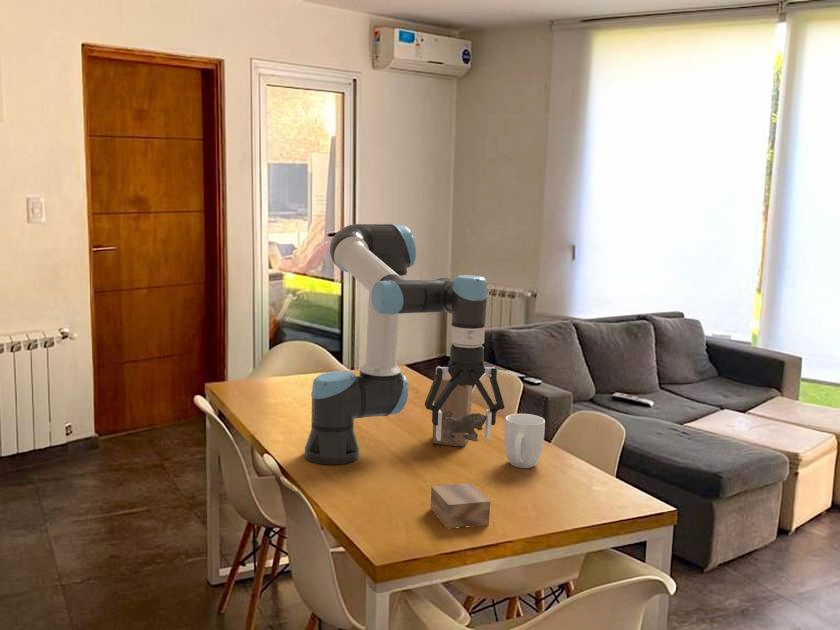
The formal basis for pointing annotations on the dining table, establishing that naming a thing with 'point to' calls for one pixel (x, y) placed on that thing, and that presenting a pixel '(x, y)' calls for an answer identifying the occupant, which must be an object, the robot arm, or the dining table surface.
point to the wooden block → (454, 409)
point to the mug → (524, 439)
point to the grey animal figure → (462, 425)
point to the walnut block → (460, 505)
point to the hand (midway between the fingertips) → (462, 438)
